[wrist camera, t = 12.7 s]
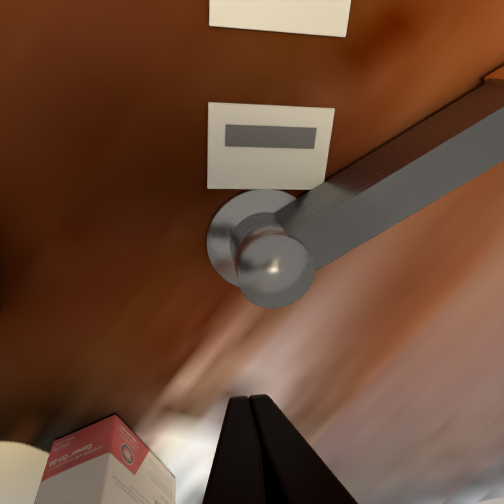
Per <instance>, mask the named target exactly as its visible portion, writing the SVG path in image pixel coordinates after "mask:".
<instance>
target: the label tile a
mask: <svg viewBox="0 0 504 504" xmlns="http://www.w3.org/2000/svg"><path fill="white" fill-rule="evenodd" d="M334 111H335V109H334V108H322V107H301V106H281V105H261V104H240V103H220V102H208V153H207V189H291V190H312V189H314V188H315V187H317V186H319V185H320V184H322V183H324V179H325V172H326V165H327V158H328V152H329V145H330V138H331V132H332V125H333V118H334Z"/></svg>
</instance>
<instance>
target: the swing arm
mask: <svg viewBox="0 0 504 504" xmlns="http://www.w3.org/2000/svg"><path fill="white" fill-rule="evenodd" d="M484 79H485V84H484V85H482V86H480V87H479V88H477V89H476V90H474V91H472V92H471V93H469V94H467V95H466V96H464V97H462V98H461V99H459V100H458V101H456V102H454V103H453V104H451V105H449V106H448V107H446V108H445V109H443V110H441V111H440V112H438V113H436V114H435V115H433V116H431V117H430V118H428V119H427V120H425V121H423V122H422V123H420V124H418V125H417V126H415V127H413V128H412V129H410V130H409V131H407V132H405V133H404V134H402V135H400V136H399V137H397V138H395V139H394V140H392V141H391V142H389V143H387V144H386V145H384V146H382V147H381V148H379V149H378V150H376V151H374V152H373V153H371V154H369V155H368V156H366V157H364V158H363V159H361V160H360V161H358V162H356V163H355V164H353V165H351V166H350V167H348V168H346V169H345V170H343V171H342V172H340V173H338V174H337V175H335V176H333V177H332V178H330V179H328V180H327V181H325V182H324V183H322V184H320V185H319V186H317V187H315V188H314V189H312V190H310V191H309V192H307V193H306V194H304V195H302V196H301V197H299V198H297V199H296V200H294V201H293V202H291V203H289V204H288V205H286V206H284V207H283V208H281V209H279V210H278V211H276V212H275V213H270V212H261V213H256V214H253V215H250V216H248V217H246V218H245V219H243V220H242V221H241V222H240V223H239V224H238V225H237V226H236V227H235V229H234V231H233V233H232V235H231V238H230V252H231V256H232V259H233V263H234V267H235V271H236V274H237V278H238V282H239V286H240V289H241V291H242V293H243V295H244V296H245V297H246V298H247V299H248V300H249V301H250V302H252V303H253V304H255V305H257V306H260V307H264V308H280V307H284V306H287V305H290V304H292V303H294V302H295V301H297V300H298V299H300V298H301V297H302V296H303V295H304V294H305V293H306V292H307V291H308V289H309V288H310V286H311V284H312V282H313V279H314V274H315V271H316V270H318V269H320V268H321V267H323V266H325V265H326V264H328V263H330V262H332V261H333V260H335V259H337V258H338V257H340V256H342V255H344V254H345V253H347V252H349V251H350V250H352V249H354V248H355V247H357V246H359V245H361V244H362V243H364V242H366V241H367V240H369V239H371V238H372V237H374V236H376V235H378V234H379V233H381V232H383V231H384V230H386V229H388V228H389V227H391V226H393V225H395V224H396V223H398V222H400V221H401V220H403V219H405V218H407V217H408V216H410V215H412V214H413V213H415V212H417V211H418V210H420V209H422V208H424V207H425V206H427V205H429V204H430V203H432V202H434V201H435V200H437V199H439V198H441V197H442V196H444V195H446V194H447V193H449V192H451V191H453V190H454V189H456V188H458V187H459V186H461V185H463V184H464V183H466V182H468V181H470V180H471V179H473V178H475V177H476V176H478V175H480V174H481V173H483V172H485V171H487V170H488V169H490V168H492V167H493V166H495V165H497V164H499V163H500V162H502V161H504V66H502V67H501V68H499V69H497V70H496V71H494V72H493V73H491V74H489V75H488V76H486V77H484Z"/></svg>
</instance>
